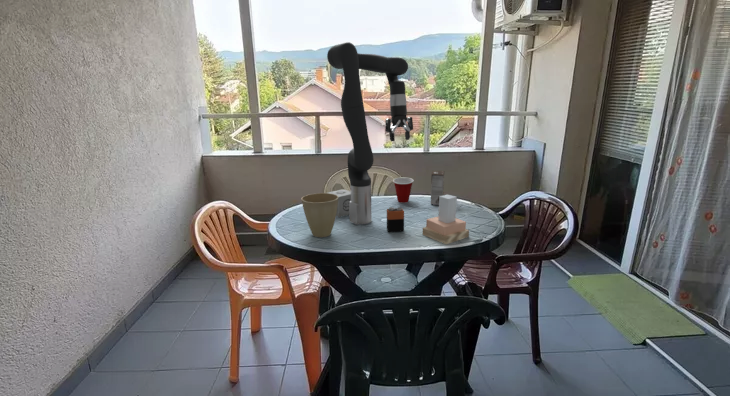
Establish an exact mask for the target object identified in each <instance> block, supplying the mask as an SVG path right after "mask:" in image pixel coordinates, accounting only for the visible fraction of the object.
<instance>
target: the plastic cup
mask: <svg viewBox="0 0 730 396" xmlns="http://www.w3.org/2000/svg"><path fill="white" fill-rule="evenodd" d="M414 181H415V180H414V179H413V178H411V177H405V176H404V177H397V178H394V179H392V182H393V184H394V188H395V195H396V199H397V200H396V201H397V202H398V203H401V204H407V203H409V201H410V196H411V191H412V186H413V183H414Z"/></svg>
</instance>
